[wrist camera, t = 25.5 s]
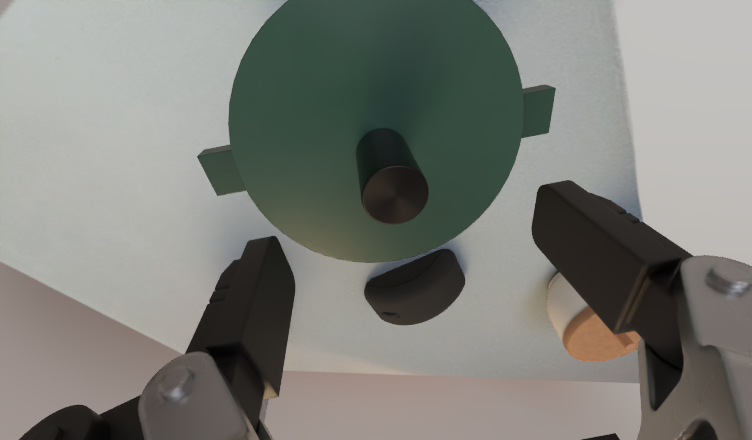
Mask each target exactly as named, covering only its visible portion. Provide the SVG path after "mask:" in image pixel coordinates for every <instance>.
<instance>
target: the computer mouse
mask: <svg viewBox="0 0 752 440" xmlns="http://www.w3.org/2000/svg"><path fill="white" fill-rule="evenodd" d="M464 285H465V277H464V274H463V272H462V270H461V268H460V265H459V263H458V261H457V259H456V257H455V254H454V253H453V252H452V251H451V250H448V249H442V250H439V251H436V252H434V253H431V254H429V255H427V256H424V257H422V258H420V259H417V260H415V261H413V262H410V263H408V264H406V265H403V266H401V267H399V268H396V269H394V270H392V271H389V272H387V273H384V274H382V275H380V276H377V277H375V278H373V279H371V280H370V281H369V282H368V283H367V285H366V287H365V291H364V295H365V298H366V300H367V301H368V303H369V304H370V305H371V306H372V308H373V309H374V310H375V312H376V313H377V314H378V316H379V317H380V318H381V319H382V320H384V321H386V322H389V323H392V324H396V325H413V324H418V323H422V322H425V321H427V320H430V319H432V318H434V317H435V316H437V315H439V314H440V313H442V312H443V311H444V310H446V309H447V308H448V307H449V306H450V305H451V304H452V303H453V302H454V301H455V300H456V298H457V297H458V296H459V294H460V293H461V291H462V289H463V287H464Z"/></svg>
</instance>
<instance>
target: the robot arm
mask: <svg viewBox="0 0 752 440" xmlns="http://www.w3.org/2000/svg"><path fill="white" fill-rule="evenodd" d="M532 236H533V239H534V242H535V244H536V245H537V247H538V248H539V249H540V250H541V251H542V253H543V254H544V255H545V256H546V257H547V258H548V259H549V261H550V262H551V263H552V264H553V265H554V266H555V267H556V269H557V270H558V271H559V272H560V273H561V274H562V276H563V277H564V278H565V279H566V280H567V281H568V282H569V284H570V285H571V286H572V287H573V288H574V289H575V290H576V292H577V293H578V294H579V295H580V296H581V297H582V299H583V300H584V301H585V302H586V303H587V304H588V305H589V307H590V308H591V309H592V310H593V311H594V312H595V313H596V315H597V316H598V317H599V318H600V319H601V320H602V322H603V323H604V324H605V325H606V326H607V327H608V328H609V330H610V331H611V332H612V333H613V334H614V335H615V334H621V333H626V332H631V331H636V332H637V333H638V334H639V336H640V337H641V339H640V340H639V343H638V364H639V380H640V396H641V410H642V420H641V427H640V431H639V434H638V438H637V440H752V266H750V265H747V264H745V263H742V262H739V261H736V260H732V259H728V258H724V257H717V256H706V255H704V256H693V255H691V254H690V253H688V252H686V251H685V250H684V249H682V248H681V247H679V246H678V245H676V244H675V243H673V242H672V241H670V240H669V239H667V238H666V237H664V236H663V235H661V234H660V233H658V232H657V231H655V230H654V229H652V228H651V227H649V226H648V225H646V224H645V223H644V222H641V223H640V221H639V219H638V218H636V217H635V216H633V215H632V214H630V213H626V210H624V209H623V208H621V207H620V206H618V205H617V204H615V203H614V202H612V201H611V200H608V199H605V198H603V197H600V196H597V195H595V194H592V193H588V192H587V191H586V190H584V189H583V188H581V187H580V186H578V185H577V184H576V183H574V182H572V181H570V180H566V181H561V182H556V183H551V184H546V185H542V186H540V187H539V189H538V192H537V197H536V203H535V210H534V216H533V222H532ZM294 296H295V280H294V276H293V272H292V270H291V268H290V265H289V263H288V261H287V258H286V256H285V254H284V252H283V249H282V247H281V245H280V242H279V240H278V239H277V237H275V236H271V237H265V238H260V239H255V240H250V241H248V242H247V244H246V247H245V249H244V252H243V254H242V257H241V259H239V260H234V261H233V262H232V263H231V264H230V265H229V266H228V268H227V269H226V270H225V271H224V272H223V273H222V274H221V276H220V278H219V281H218V283H217V285H216V287H215V291H214V292H213V294H212V296H211V298H210V300H209V302H210V304H208V305H207V307H206V309H205V311H204V314H203V316H202V318H201V320H200V322H199V325H198V327H197V329H196V331H195V333H194V336H193V338H192V340H191V342H190V344H189V347H188V349H187V351H186V353H185V354H184V355H181V356H179V357H177V358H175V359H174V360H172V361H171V362H169V363H168V364H166V365H165V366H164V367H163V368H162V369H160V370H159V371H158V372H157V373H156V374H155V375H154V376H153V377H152V379H151V380H150V381H149V382H148V384H147V386H146V387H145V389H144V390H143V392H142V394H141V395H140V396H138V397H136V398H134V399H131V400H129V401H127V402H125V403H123V404H121V405H119V406H117V407H115V408H113V409H111V410H108V411H106V412H104V413H102V414H100V415H98V414H97V413H95V412H94V411H92V410H91V409H89V408H88V407H87V406H84V405H73V406H69V407H66V408H63V409H61V410H59V411H56V412H55V413H53V414H51V415H49V416H48V417H46V418H45V419H43V420H42V421H40V422H39V423H38V424H36V425H35V426H34V427H32V428H31V429H30V430H29V431H28V432H27V433H25V434H24V435H23V437H21V438H20V439H19V440H273V438H272V436H271V434H270V432H269V431H268V429H267V427H266V425H265V424H264V422H263V420H262V419H261V417H260V411H261V406H262V401H263V400H265V399H270V398H276V397H279V391H280V385H281V379H282V372H283V366H284V360H285V353H286V347H287V341H288V334H289V328H290V321H291V315H292V309H293V302H294ZM583 440H620V439H619V438H618V437H617V435H616V434H615V433H614V434H610V435H604V436H598V437H593V438H588V439H583Z"/></svg>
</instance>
